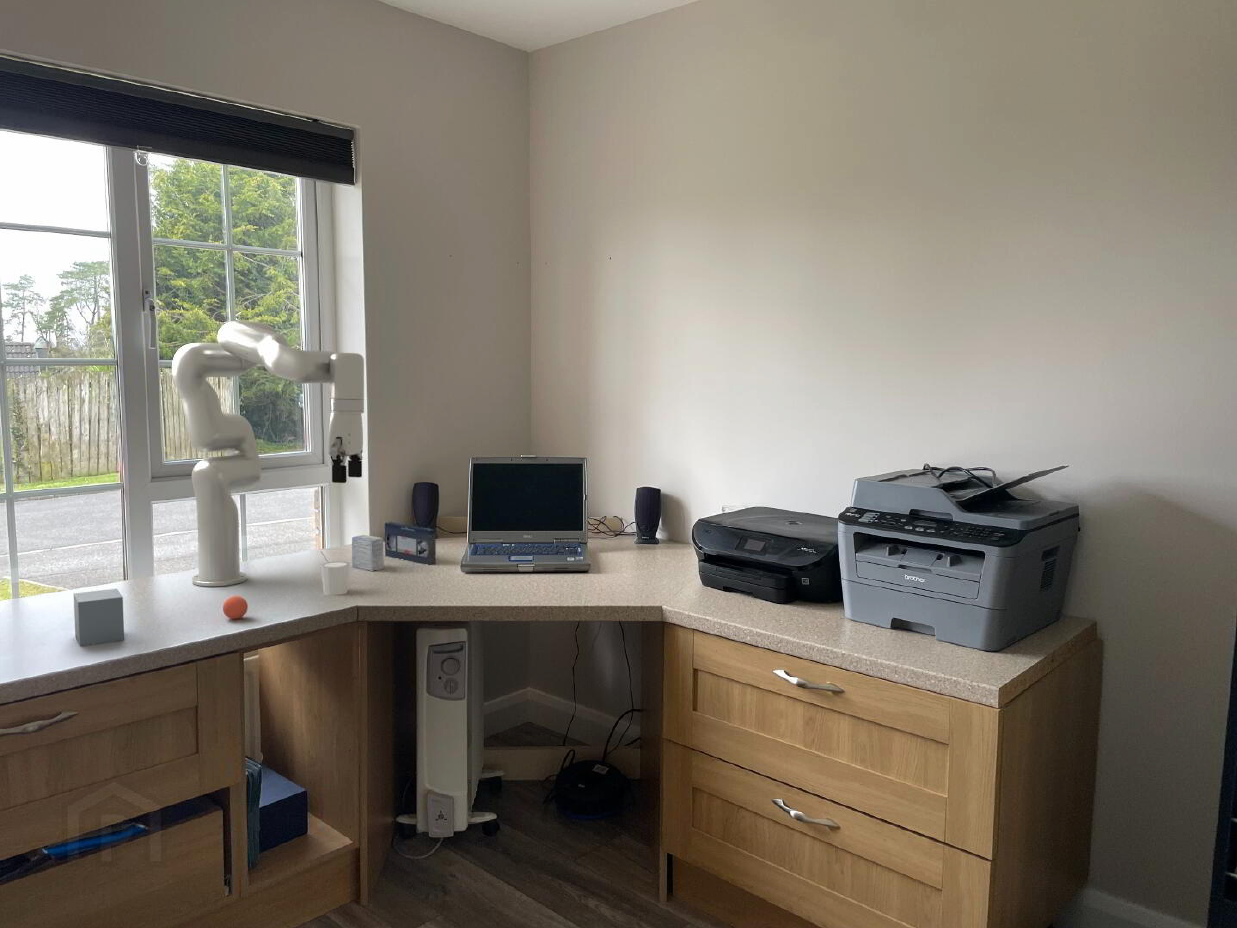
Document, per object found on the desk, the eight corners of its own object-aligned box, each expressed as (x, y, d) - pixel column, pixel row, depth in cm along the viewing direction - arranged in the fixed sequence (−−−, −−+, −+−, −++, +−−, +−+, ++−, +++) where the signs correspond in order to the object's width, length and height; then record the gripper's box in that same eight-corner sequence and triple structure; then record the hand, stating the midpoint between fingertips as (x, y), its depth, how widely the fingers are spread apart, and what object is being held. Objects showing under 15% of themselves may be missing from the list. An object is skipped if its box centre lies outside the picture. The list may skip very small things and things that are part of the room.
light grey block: (384, 569, 247) (384, 537, 246) (371, 572, 243) (371, 540, 242) (364, 564, 251) (364, 534, 250) (351, 567, 247) (351, 536, 246)
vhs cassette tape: (384, 556, 262) (384, 522, 261) (392, 554, 265) (392, 521, 264) (428, 566, 252) (428, 531, 251) (436, 564, 254) (436, 529, 253)
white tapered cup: (341, 596, 217) (341, 568, 217) (315, 594, 219) (315, 566, 218) (355, 589, 224) (355, 562, 223) (329, 587, 225) (329, 560, 225)
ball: (220, 617, 198) (220, 595, 197) (244, 614, 201) (244, 592, 200) (226, 623, 194) (225, 600, 193) (250, 619, 197) (250, 597, 196)
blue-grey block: (75, 635, 182) (73, 593, 181) (118, 629, 187) (116, 588, 186) (79, 646, 176) (78, 602, 175) (124, 639, 181) (122, 596, 180)
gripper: (345, 404, 217) (345, 474, 219) (316, 407, 200) (316, 484, 202) (375, 405, 216) (375, 475, 218) (348, 409, 199) (349, 485, 201)
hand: (347, 479), depth 210 cm, fingers open, 9 cm apart
